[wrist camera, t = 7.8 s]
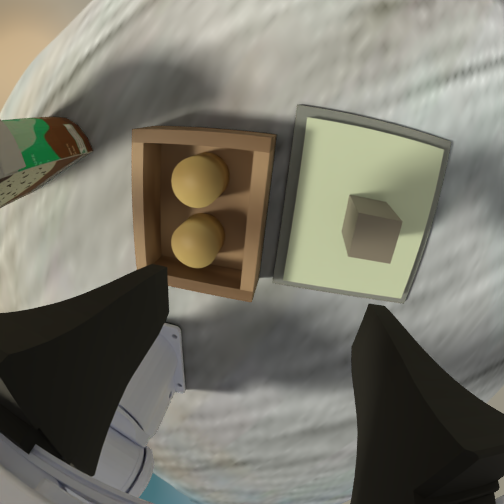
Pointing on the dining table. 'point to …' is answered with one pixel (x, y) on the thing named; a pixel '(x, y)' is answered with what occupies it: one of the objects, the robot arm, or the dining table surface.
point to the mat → (293, 181)
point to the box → (202, 205)
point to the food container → (36, 153)
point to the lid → (360, 208)
